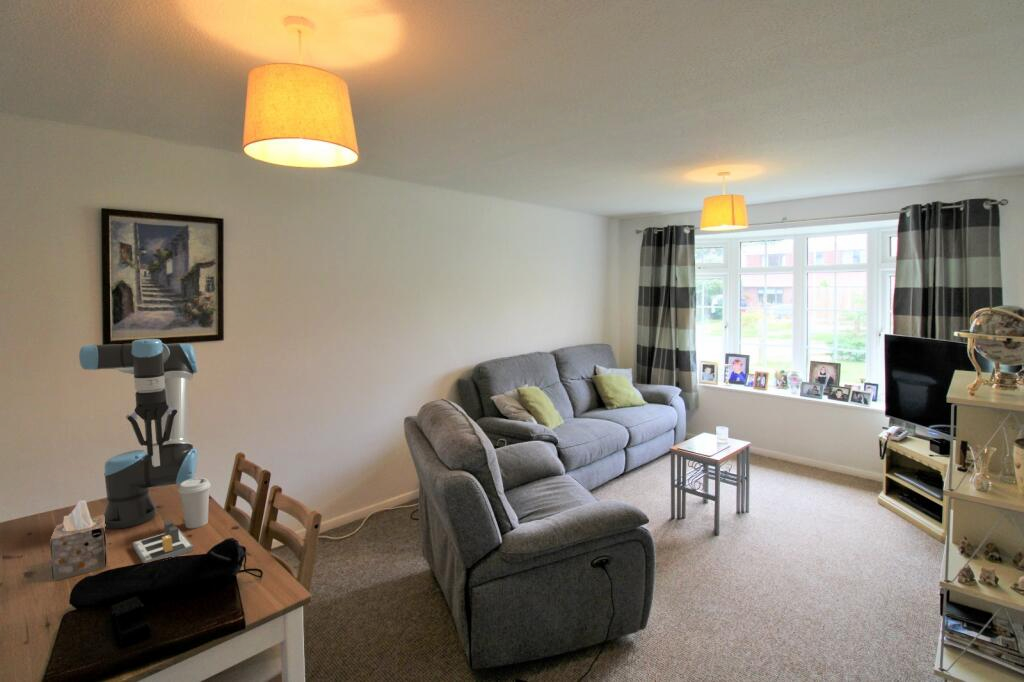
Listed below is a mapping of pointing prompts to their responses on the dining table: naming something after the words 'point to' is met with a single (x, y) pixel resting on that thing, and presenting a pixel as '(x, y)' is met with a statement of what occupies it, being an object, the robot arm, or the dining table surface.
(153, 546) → the panel
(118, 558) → the dining table surface
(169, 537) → the toggle
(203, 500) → the coffee cup
